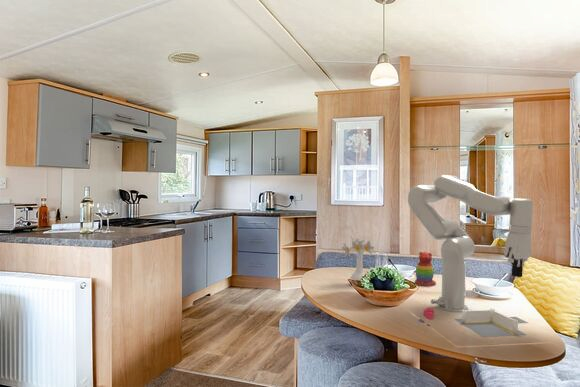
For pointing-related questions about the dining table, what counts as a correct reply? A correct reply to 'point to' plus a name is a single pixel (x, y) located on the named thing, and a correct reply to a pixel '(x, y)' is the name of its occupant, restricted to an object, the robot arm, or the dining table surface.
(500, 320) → the fence gate
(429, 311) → the toy pieces
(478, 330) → the fence base
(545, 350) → the dining table surface
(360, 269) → the flower vase
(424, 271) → the stacking bear
